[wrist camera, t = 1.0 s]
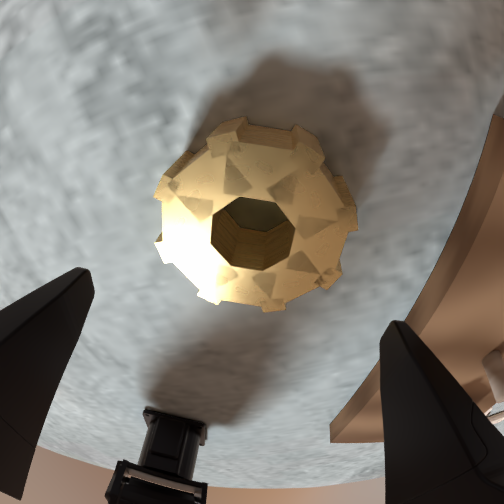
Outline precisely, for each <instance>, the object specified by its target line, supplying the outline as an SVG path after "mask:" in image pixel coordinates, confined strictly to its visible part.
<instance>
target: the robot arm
mask: <svg viewBox="0 0 504 504" xmlns="http://www.w3.org/2000/svg"><path fill="white" fill-rule="evenodd" d="M94 294H95V290H94V285H93V281H92V277H91V273H90V271H89V270H88V269H85V268H81V267H76V268H74V269H72V270H70V271H69V272H67V273H65V274H63V275H61V276H59V277H58V278H56V279H54V280H52V281H50V282H49V283H47V284H45V285H43V286H41V287H40V288H38V289H36V290H34V291H33V292H31V293H29V294H27V295H26V296H24V297H22V298H21V299H19V300H17V301H15V302H14V303H12V304H10V305H9V306H7V307H5V308H4V309H2V310H0V491H1V492H3V493H5V494H7V495H9V496H11V497H13V498H15V499H18V500H21V498H22V495H23V491H24V487H25V483H26V479H27V476H28V472H29V469H30V465H31V462H32V458H33V455H34V452H35V448H36V445H37V442H38V439H39V436H40V433H41V430H42V428H43V425H44V422H45V419H46V416H47V414H48V411H49V408H50V406H51V403H52V400H53V398H54V395H55V393H56V390H57V388H58V385H59V383H60V380H61V378H62V376H63V373H64V371H65V369H66V366H67V364H68V362H69V359H70V357H71V355H72V353H73V350H74V348H75V346H76V344H77V341H78V339H79V337H80V334H81V331H82V328H83V326H84V323H85V320H86V317H87V314H88V312H89V309H90V306H91V304H92V301H93V298H94ZM380 395H381V406H382V418H383V432H384V451H385V491H386V492H385V504H504V436H503V435H502V434H501V433H500V432H499V431H498V429H497V428H496V427H495V426H494V425H493V424H492V423H491V422H490V420H489V419H488V418H487V417H486V416H485V414H484V413H483V412H482V411H481V410H480V408H479V407H478V406H477V404H476V403H475V402H474V401H473V400H472V398H471V397H470V396H469V395H468V393H467V392H466V391H465V390H464V389H463V387H462V386H461V385H460V384H459V382H458V381H457V380H456V379H455V378H454V377H453V375H452V374H451V373H450V372H449V371H448V369H447V368H446V367H445V366H444V365H443V364H442V362H441V361H440V360H439V359H438V358H437V357H436V355H435V354H434V353H433V352H432V351H431V350H430V349H429V347H428V346H427V345H426V344H425V343H424V342H423V341H422V340H421V338H420V337H419V336H418V335H417V334H416V333H415V332H414V331H413V330H412V328H411V327H410V326H409V325H408V324H407V323H406V322H405V321H398V320H393V321H391V322H390V324H389V326H388V327H387V329H386V331H385V332H384V334H383V336H382V337H381V340H380ZM143 416H144V419H145V422H146V424H147V427H148V430H147V434H146V437H145V441H144V444H143V447H142V451H141V454H140V458H139V461H138V465H136V464H133V463H130V462H129V461H127V460H124V459H123V461H118V462H117V465H116V468H115V472H114V474H113V477H112V479H111V481H110V484H109V486H108V489H107V491H106V493H105V498H106V499H107V501H108V504H206V497H207V487H208V483H204V482H202V483H201V482H196V481H192V478H193V473H194V468H195V463H196V458H197V453H198V448H199V445H200V446H204V445H205V424H204V423H201V422H196V421H191V420H186V419H181V418H177V417H173V416H168V415H164V414H160V413H156V412H153V411H149V410H144V411H143ZM128 475H132V476H135V477H138V478H135V477H132V476H131V478H128ZM139 478H141V479H139ZM142 479H144V480H142ZM145 480H147V481H145ZM148 481H151V482H154V483H151V482H148ZM155 483H157V484H155ZM158 484H161V485H158ZM162 485H165V486H169V487H172V488H176V489H180V490H184V491H188V492H192V493H188V492H184V491H180V490H176V489H172V488H169V487H165V486H162ZM193 493H194V494H193Z"/></svg>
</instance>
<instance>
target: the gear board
mask: <svg viewBox="0 0 504 504" xmlns="http://www.w3.org/2000/svg"><path fill="white" fill-rule="evenodd" d="M405 322H406V323H407V324H408V325H409V326H410V327H411V328H412V330H413V331H414V332H415V333H416V334H417V335H418V336H419V337H420V338H421V340H422V341H423V342H424V343H425V344H426V345H427V346H428V347H429V349H430V350H431V351H432V352H433V353H434V354H435V355H436V357H437V358H438V359H439V360H440V361H441V362H442V364H443V365H444V366H445V367H446V368H447V369H448V371H449V372H450V373H451V374H452V375H453V377H454V378H455V379H456V380H457V381H458V382H459V384H460V385H461V386H462V387H463V389H464V390H465V391H466V392H467V393H468V395H469V396H470V397H471V398H472V400H473V401H474V402H475V403H476V404H477V406H478V407H479V408H480V410H481V411H482V412H483V413H485V412H486V411H487V410H489V409H490V408H491V407H492V406H493V405H494V404H495V403H501V402H503V401H504V119H503V118H501V117H499V116H496V115H494V114H493V117H492V121H491V125H490V128H489V132H488V135H487V139H486V142H485V145H484V149H483V152H482V155H481V158H480V161H479V164H478V167H477V170H476V173H475V175H474V178H473V181H472V184H471V186H470V189H469V192H468V194H467V197H466V199H465V202H464V204H463V207H462V209H461V212H460V214H459V216H458V219H457V221H456V223H455V226H454V228H453V230H452V232H451V234H450V237H449V239H448V241H447V243H446V245H445V247H444V249H443V251H442V254H441V256H440V258H439V260H438V262H437V264H436V266H435V268H434V269H433V271H432V273H431V275H430V277H429V279H428V281H427V283H426V285H425V286H424V288H423V290H422V292H421V294H420V295H419V297H418V299H417V301H416V302H415V304H414V306H413V308H412V309H411V311H410V313H409V314H408V316H407V318H406V319H405ZM372 442H384V432H383V418H382V406H381V395H380V360H379V361H378V362H377V364H376V365H375V367H374V368H373V370H372V371H371V372H370V374H369V375H368V377H367V378H366V379H365V381H364V382H363V383H362V385H361V386H360V387H359V389H358V390H357V391H356V393H355V394H354V395H353V397H352V398H351V399H350V400H349V402H348V403H347V404H346V405H345V407H344V408H343V409H342V410H341V412H340V413H339V414H338V415H337V417H336V418H335V419H334V420H333V421H332V423H331V424H330V443H372Z"/></svg>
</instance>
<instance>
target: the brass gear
mask: <svg viewBox="0 0 504 504" xmlns="http://www.w3.org/2000/svg"><path fill="white" fill-rule="evenodd" d="M206 141H207V145H206V146H204V147H203V148H202V149H201V150H199V151H198V152H197V153H196V154H193V153H191V152H189V151H186V152H185V153H184V154H183V155H182V156H181V157H180V158H179V159H178V160H177V161H176V162H175V163H174V164H173V165H172V166H171V167H170V168H169V169H168V170H167V171H166V172H165V173H164V174H163V176H162V178H161V180H160V182H159V184H158V187H157V189H156V191H155V194H154V196H153V197H154V198H156V199H158V200H160V201H162V232H161V234H160V235H159V237H158V239H157V240H156V242H155V245H156V247H157V249H158V251H159V253H160V255H161V257H162V259H163V261H164V263H169V262H173V263H174V264H175V265H176V266H177V267H178V268H179V269H180V270H181V271H182V272H183V273H184V274H185V275H186V276H187V277H188V278H189V279H190V280H191V281H192V282H193V283H194V284H195V285H196V286H197V287H198V288H199V291H198V294H197V295H198V296H200V297H202V298H204V299H206V300H208V301H210V302H212V303H214V304H216V305H218V304H219V302H220V301H221V300H225V301H231V302H236V303H242V304H249V305H255V306H261V307H262V310H263V313H264V312H272V311H280V310H286V302H288V301H291V300H293V299H295V298H297V297H299V296H301V295H303V294H305V293H307V292H309V291H311V290H313V289H315V288H317V287H319V286H320V287H322V288H324V289H326V290H328V289H329V288H330V286H331V285H332V284H333V283H334V282H335V281H336V280H337V279H338V278H339V277H340V276H341V275H342V269H341V264H340V260H339V258H340V255H341V252H342V249H343V246H344V243H345V240H346V237H347V234H348V232H351V231H357V230H358V222H357V212H356V205H355V203H354V201H353V198H352V196H351V194H350V192H349V189H348V187H347V185H346V183H345V181H344V179H343V176H336V177H333V175H332V174H331V172H330V171H329V169H328V168H327V166H326V165H325V163H324V162H323V161H324V160H325V156H324V153H323V151H322V149H321V146H320V144H319V141H318V139H317V137H316V136H314V135H313V134H311V133H310V132H308V131H306V130H305V129H303V128H302V127H300V126H298V125H297V124H296V125H295V126H294V128H293V129H292V131H286V130H280V129H275V128H268V127H262V126H255V125H249V124H248V120H247V117H246V116H244V117H240V118H236V119H232V120H228V121H225V122H222V123H221V124H220V125H219V126H218V127H217V128H216V129H215V130H214V131H213V132H212V133H211V134H210V135H209V136H208V137H207V138H206ZM239 196H240V197H247V198H253V199H259V200H265V201H271V202H276V203H277V205H278V206H279V207H280V209H281V210H282V211H283V212H284V214H285V215H286V216H287V218H288V220H286V221H285V222H283V223H281V224H280V225H278V226H276V227H275V228H273V229H271V230H269V231H268V232H263V231H257V230H251V229H245V228H240V227H239V225H238V224H237V223H236V222H235V221H234V220H233V218H232V217H231V216H230V215H229V214H228V213H227V212H226V210H225V209H224V207H225V206H226V205H227V204H229V203H230V202H232V201H233V200H235V199H236V198H238V197H239Z"/></svg>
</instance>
